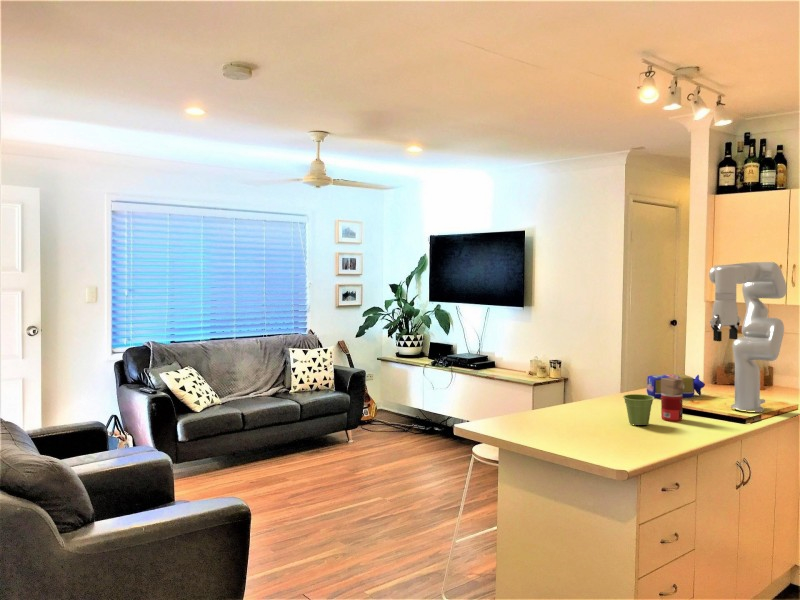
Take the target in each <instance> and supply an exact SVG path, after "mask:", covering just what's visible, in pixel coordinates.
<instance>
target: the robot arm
mask: <svg viewBox="0 0 800 600" xmlns="http://www.w3.org/2000/svg"><path fill="white" fill-rule="evenodd" d="M708 277H709V280H710V281H711V283H712V284H714V285H715V287H714V289H715V290H714V291H715V292H714V294H715V295H714V298H715V299H714V301H713V305H712V314H711V315H712V316H711V319H710V320H709V324H710V327H711V329H712V332H713V334H712V335H713V336H712V337H713V341H714V342H722V337H723V336H722V333H723V332H722V331H721V330H722V329H723V327H729V329H728V331H729V332H728V335H729V336H728V337H729V339H730V340H733V342H732V353H733V359H734V404H731V405H730V408H731V407H732V408H736V409H739V410H746V411H755V412H759V413H762V412H761V411H763V412H764V411H765V409H764V407H763V406H761V405H762V404H765V403H766V399H765V398H761V391H760V390H761V384H760V383H761V371H760V367H759V365H758V364H757V363H756V361H764V362H774V361H777V359H778V357H779V355H780V352H781V347H782V343H783V338H784V333H785V325H784V322H783V320H781V318H777V317H768V315H769V309H768V307H767V306H766V305H765V303H764V302H762V300H760V299H773V300H774V299H778V300H779V299H782V298H784V297H785V296H786V294H787V293H788V292H787V290H788V287H787V282H786V280H785V278H784V273H783V271H782V268H781V267H780V265H779V264H777V263H776V262H773V261H758V262H754V261H753V262H741V263H731V264H721V265H720V264H719V265H714V266H712V267H711V268H710V270H709V273H708ZM741 284H742V287H741V290H742V296H743V299H744V303H745V306H746V311H745V315H744V318H743V322H742V326H741V333H742V336H741V337H738V330H739V326H740V324H741V320H742V318H741V317H740V316H738V311H739V310H738V303H737V302H738V301H737V285H741Z"/></svg>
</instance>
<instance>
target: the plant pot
mask: <svg viewBox="0 0 800 600" xmlns="http://www.w3.org/2000/svg"><path fill="white" fill-rule="evenodd" d="M622 398H623V399H624V404H625V407H626V410H627V411H626V412H627V417H628V418H627V419H628V423H630V425H631V424H634V425H647V426H649V422H650V418H651V417H650V416H651V411H652V405H653V403H654V402H653V401H654V400H655V398H654V397H653V396H649V395H648V394H639V393H631V394H629V393H628V394H624V395H622Z"/></svg>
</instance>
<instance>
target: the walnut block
mask: <svg viewBox="0 0 800 600" xmlns="http://www.w3.org/2000/svg"><path fill="white" fill-rule="evenodd" d="M661 393H664V394H668V395H679V394H683V379H679V378H674V377H668V378H661Z"/></svg>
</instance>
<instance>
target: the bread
mask: <svg viewBox="0 0 800 600" xmlns="http://www.w3.org/2000/svg"><path fill="white" fill-rule="evenodd" d="M668 377H674V378H679V379H683V384H684V386H685V387H684V389H683V395H682V399H686V398H689V399H691V398H694V396H695V392H696V394H698V396H701V395H702V392H701V391H702V389H703V388H704V387H705V385H706V384H705V382H704V381H702V380H700V375H699V374H697V375H696V376H695V378H694V377H692V376H689V375H687V374H681V373H680V374H653V375H648V376H647V379H646V381H647V382H646V393H647V394H646V395H649V396H653V397H654V400H655V399H661V394H662V393H661V378H668Z"/></svg>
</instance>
